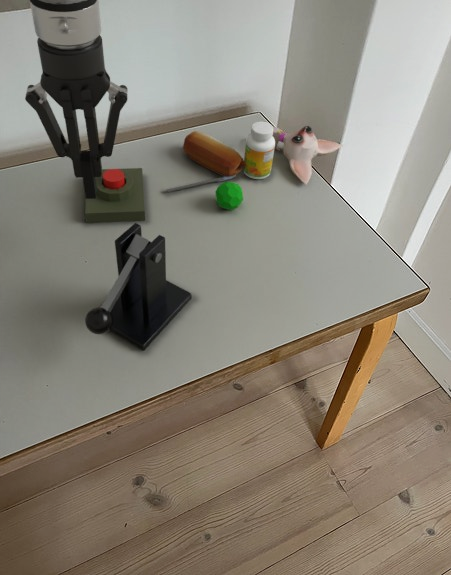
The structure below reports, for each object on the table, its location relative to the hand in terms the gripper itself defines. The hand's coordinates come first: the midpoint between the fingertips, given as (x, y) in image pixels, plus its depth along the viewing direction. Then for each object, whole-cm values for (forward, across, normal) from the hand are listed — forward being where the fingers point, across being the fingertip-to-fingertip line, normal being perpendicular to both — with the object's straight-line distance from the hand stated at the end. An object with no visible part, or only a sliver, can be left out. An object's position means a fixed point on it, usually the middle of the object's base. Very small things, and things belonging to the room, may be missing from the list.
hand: (91, 192), depth 85 cm
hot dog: (+10, +19, +21) cm, 30 cm away
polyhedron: (+12, +22, +10) cm, 28 cm away
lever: (+4, +5, -16) cm, 17 cm away
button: (+8, +3, +13) cm, 16 cm away
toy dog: (+8, +31, +30) cm, 44 cm away
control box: (+12, +2, +13) cm, 18 cm away
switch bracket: (+12, +7, -13) cm, 19 cm away
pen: (+12, +18, +16) cm, 27 cm away
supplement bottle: (+12, +29, +20) cm, 37 cm away
